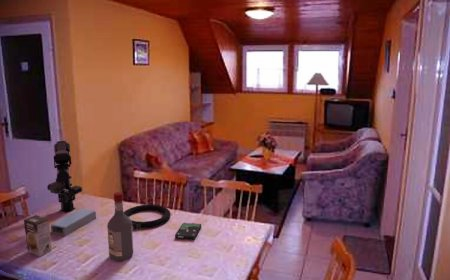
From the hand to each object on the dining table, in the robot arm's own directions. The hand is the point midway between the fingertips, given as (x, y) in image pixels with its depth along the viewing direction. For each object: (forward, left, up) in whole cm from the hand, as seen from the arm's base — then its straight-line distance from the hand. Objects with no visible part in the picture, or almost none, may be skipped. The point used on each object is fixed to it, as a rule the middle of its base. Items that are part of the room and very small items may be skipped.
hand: (65, 202), depth 190 cm
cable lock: (+37, +19, -12) cm, 43 cm away
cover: (+6, -2, -7) cm, 10 cm away
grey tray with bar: (+6, -2, -12) cm, 13 cm away
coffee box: (+11, -29, -12) cm, 33 cm away
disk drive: (+67, +13, -12) cm, 70 cm away
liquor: (+49, -19, -12) cm, 54 cm away
